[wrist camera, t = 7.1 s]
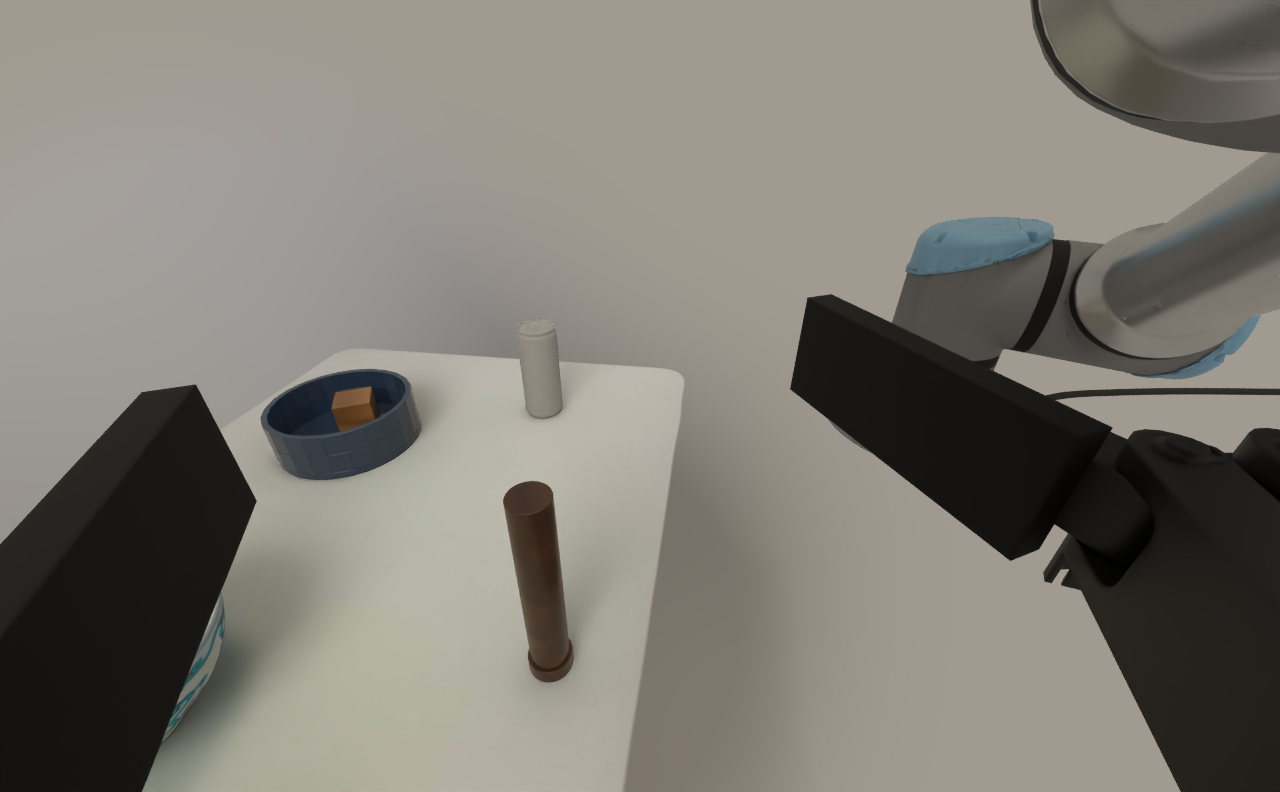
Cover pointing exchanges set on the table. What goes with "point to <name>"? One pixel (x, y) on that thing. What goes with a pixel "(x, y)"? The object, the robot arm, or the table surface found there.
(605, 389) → the table surface
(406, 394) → the bowl
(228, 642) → the table surface
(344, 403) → the block
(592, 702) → the table surface
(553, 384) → the beverage can
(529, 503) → the muddler
